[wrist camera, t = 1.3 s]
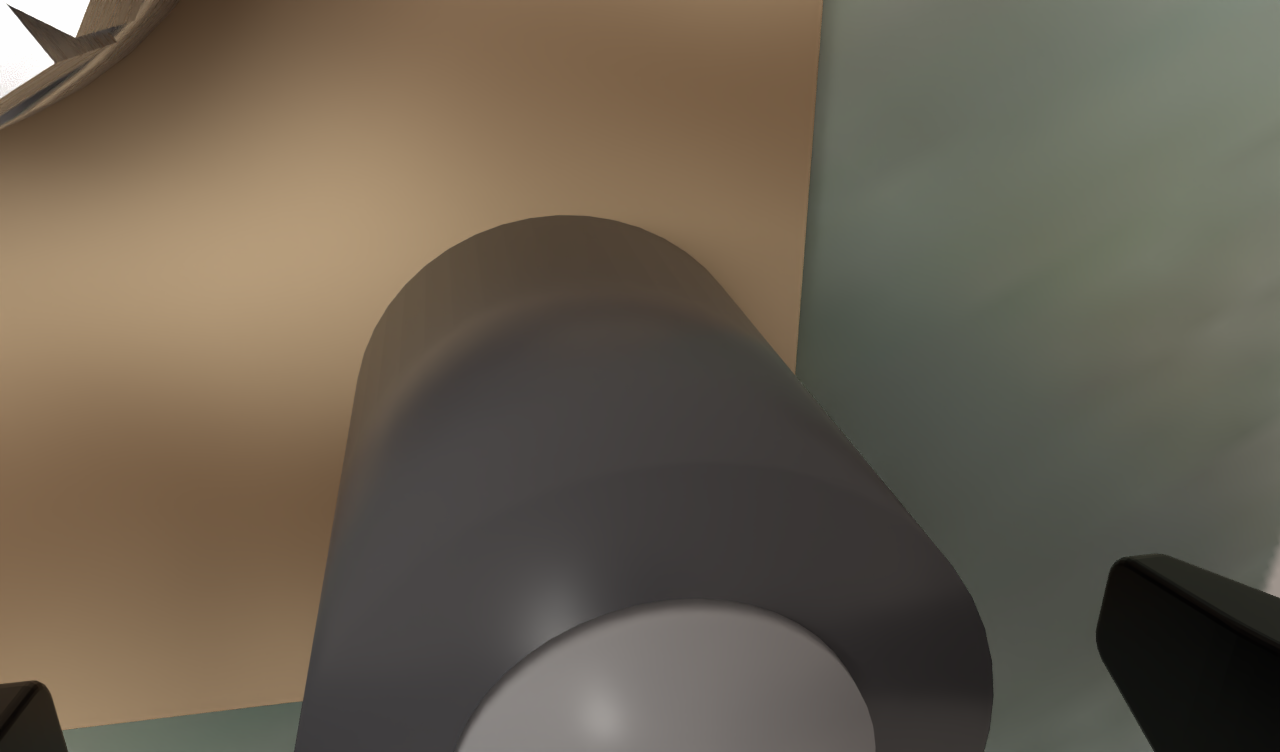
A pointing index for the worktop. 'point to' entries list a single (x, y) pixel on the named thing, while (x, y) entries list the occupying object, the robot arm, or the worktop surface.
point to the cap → (618, 529)
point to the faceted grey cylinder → (65, 47)
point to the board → (319, 285)
